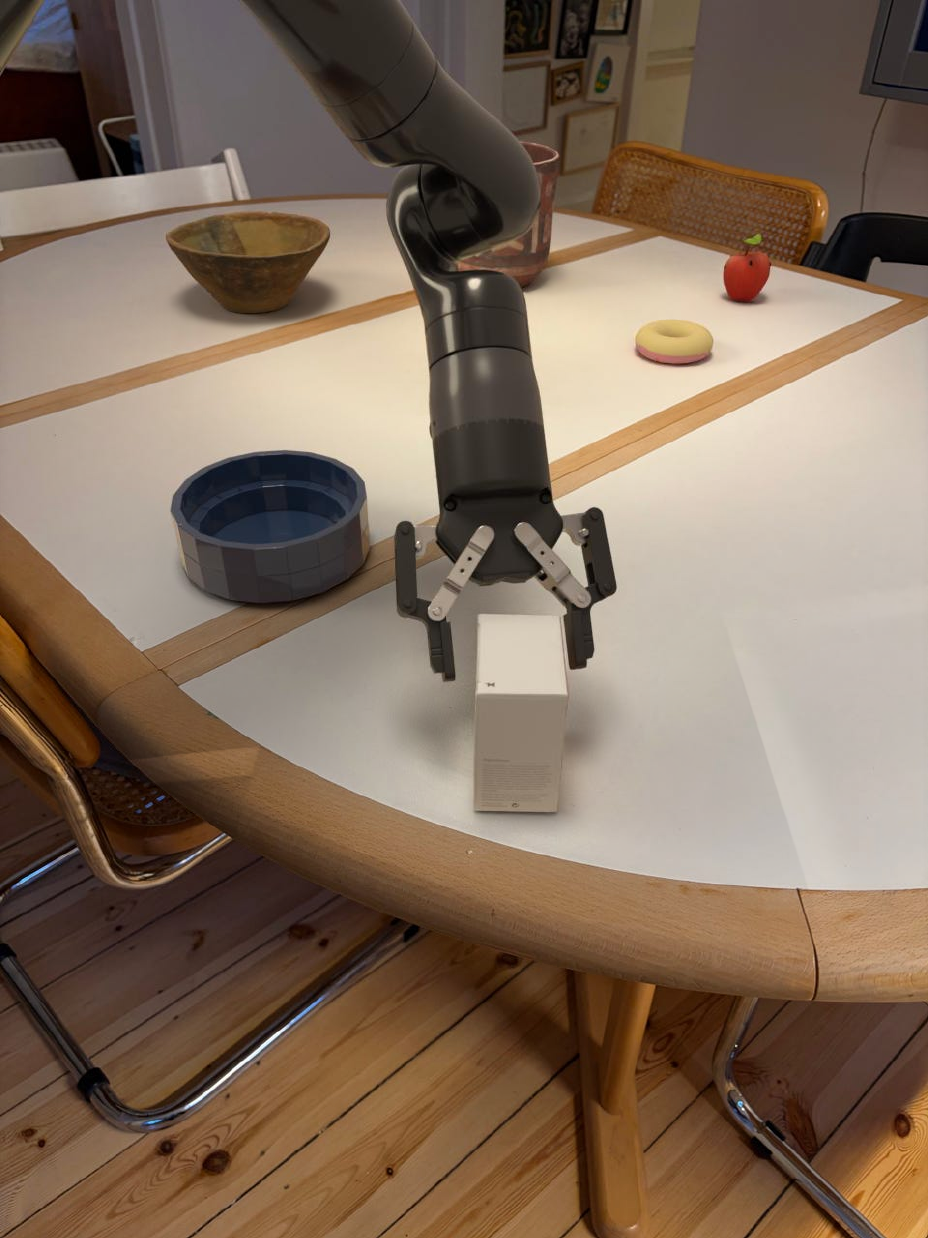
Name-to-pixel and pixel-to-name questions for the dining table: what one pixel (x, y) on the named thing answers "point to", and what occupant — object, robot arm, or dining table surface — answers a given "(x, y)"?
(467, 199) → the robot arm
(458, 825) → the dining table surface
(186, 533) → the glazed bowl
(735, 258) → the apple
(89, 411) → the dining table surface
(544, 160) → the pottery
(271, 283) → the bowl
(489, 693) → the small box
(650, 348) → the donut
